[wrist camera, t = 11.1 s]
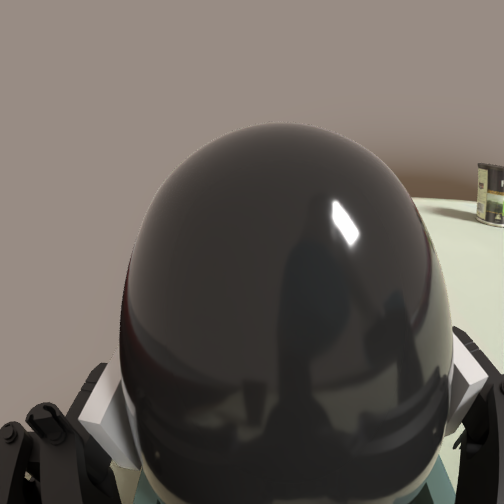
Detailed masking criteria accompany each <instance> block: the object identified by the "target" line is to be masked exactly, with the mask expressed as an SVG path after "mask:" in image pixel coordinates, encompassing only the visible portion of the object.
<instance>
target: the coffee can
mask: <svg viewBox="0 0 504 504" xmlns="http://www.w3.org/2000/svg"><path fill="white" fill-rule="evenodd" d="M478 170H479V171H478V201H477V214H476V219H477V220H478V221H480V222H482V223H484V224H488V225H491V226H496V227H504V167H502V166H497V165H491V164H484V163H478Z"/></svg>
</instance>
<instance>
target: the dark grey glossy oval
mask: <svg viewBox="0 0 504 504" xmlns="http://www.w3.org/2000/svg"><path fill="white" fill-rule="evenodd" d="M119 333H120V334H119V359H120V373H121V382H122V389H123V396H124V402H125V407H126V412H127V417H128V421H129V425H130V430H131V433H132V437H133V441H134V445H135V448H136V451H137V454H138V457H139V460H140V463H141V465H142V468H143V470H144V473H145V475H146V477H147V480H148V482H149V484H150V486H151V488H152V490H153V491H154V493H155V495H156V497H157V498H158V500H159V501H160V503H161V504H412V503H413V502H414V501H415V499H416V498H417V496H418V494H419V493H420V491H421V490H422V488H423V486H424V485H425V483H426V481H427V479H428V477H429V475H430V473H431V471H432V469H433V467H434V464H435V462H436V459H437V457H438V454H439V451H440V448H441V445H442V442H443V439H444V435H445V431H446V427H447V422H448V417H449V412H450V405H451V398H452V388H453V370H454V347H453V331H452V321H451V313H450V306H449V300H448V294H447V289H446V284H445V280H444V276H443V272H442V269H441V265H440V262H439V259H438V256H437V253H436V250H435V247H434V244H433V242H432V239H431V237H430V235H429V232H428V230H427V228H426V226H425V223H424V221H423V219H422V217H421V215H420V213H419V211H418V209H417V207H416V206H415V204H414V202H413V200H412V199H411V197H410V195H409V194H408V192H407V191H406V189H405V187H404V186H403V185H402V183H401V182H400V181H399V179H398V178H397V177H396V175H395V174H394V173H393V172H392V171H391V169H390V168H389V167H388V166H387V165H386V164H385V163H384V162H383V161H381V160H380V159H379V158H378V157H377V156H376V155H374V154H373V153H372V152H370V151H369V150H368V149H366V148H365V147H363V146H361V145H360V144H358V143H356V142H355V141H353V140H351V139H349V138H347V137H345V136H343V135H340V134H338V133H336V132H333V131H330V130H327V129H324V128H321V127H317V126H313V125H308V124H301V123H292V122H267V123H261V124H255V125H251V126H247V127H243V128H240V129H237V130H234V131H231V132H229V133H227V134H224V135H222V136H220V137H218V138H216V139H214V140H212V141H210V142H209V143H207V144H205V145H204V146H202V147H201V148H199V149H198V150H196V151H195V152H194V153H192V154H191V155H190V156H188V157H187V158H186V159H185V160H184V161H183V162H181V164H179V165H178V166H177V167H176V168H175V169H174V170H173V171H172V172H171V173H170V175H169V176H168V177H167V178H166V180H165V181H164V182H163V184H162V185H161V186H160V188H159V189H158V191H157V193H156V194H155V196H154V198H153V200H152V202H151V203H150V206H149V208H148V210H147V212H146V215H145V217H144V219H143V222H142V224H141V227H140V230H139V233H138V236H137V238H136V241H135V244H134V247H133V251H132V254H131V258H130V262H129V265H128V270H127V274H126V279H125V284H124V290H123V296H122V305H121V315H120V332H119Z"/></svg>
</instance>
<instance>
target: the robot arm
mask: <svg viewBox="0 0 504 504" xmlns="http://www.w3.org/2000/svg"><path fill="white" fill-rule="evenodd" d="M452 331H453V347H454V370H453V388H452V398H451V405H450V412H449V417H448V422H447V427H446V431H445V435H444V437H445V436H448V435H450V434H452V433H454V432H455V431H456V430H457V428H458V427H459V425H460V424H461V422H462V423H463V425H464V427H465V430H464V431H463V433H462V434H461V435H460V437H459V438H458V439H457V441H456V442H455V443H454V446H453V449H456V448H457V446H458V445H459V444H460V443H461V446H460V448H459V449H461V453H460V466H459V476H458V484H457V491H456V497H455V503H454V504H504V374H502V375H501V374H500V373H499V371H498V370H497V369H496V368H495V366H494V365H493V364H492V363H491V361H490V360H489V359H488V358H487V357H486V355H485V354H484V353H483V352H482V351H481V350H479V347H478V346H477V345H476V344H475V343H473V340H472V339H471V338H470V337H469V336H468V335H467V334H466V332H464V331H462V330H461V329H459V328H457V327H455V326H453V327H452ZM25 421H26V423H27V424H28V425H29V426H30V427H31V428H32V430H34V432H27V431H26V430H25V429H24V428H23V426H22V425H21V424H20V423H18V422H15V421H14V422H9V423H7V424H5V425H4V426H3V427H2V428H1V429H0V504H122V503H121V500H120V496H119V492H118V488H117V484H116V480H115V476H114V473H113V471H112V469H111V468H110V467H109V466H110V463H111V460H113V461H114V462H115V463H116V464H117V465H118V466H119V467H122V468H127V469H132V470H137V471H140V469H141V463H140V460H139V457H138V454H137V451H136V448H135V445H134V441H133V437H132V433H131V430H130V425H129V421H128V417H127V412H126V407H125V402H124V396H123V389H122V382H121V373H120V359H119V345H118V347H117V349H116V351H115V352H114V354H113V356H112V357H111V359H110V361H109V363H100V364H99V365H98V366H97V367H96V368H94V370H92V371H91V373H90V374H89V376H88V378H87V380H86V383H84V385H83V386H82V388H81V391H80V392H79V393H78V395H77V397H76V398H75V400H74V402H73V404H72V405H71V407H70V409H69V411H68V413H67V415H66V416H64V415H63V414H62V412H61V411H60V410H59V408H58V407H57V406H56V405H55V404H52V403H50V402H48V403H41V404H38V405H36V406H35V407H33V408H32V409H31V410H30V412H29V413H28V414H27V417H26V420H25ZM25 472H28V473H29V474H30V475H31V476H32V477H31V479H30V480H29V481H28V480H27V479H26V478H25Z"/></svg>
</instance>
